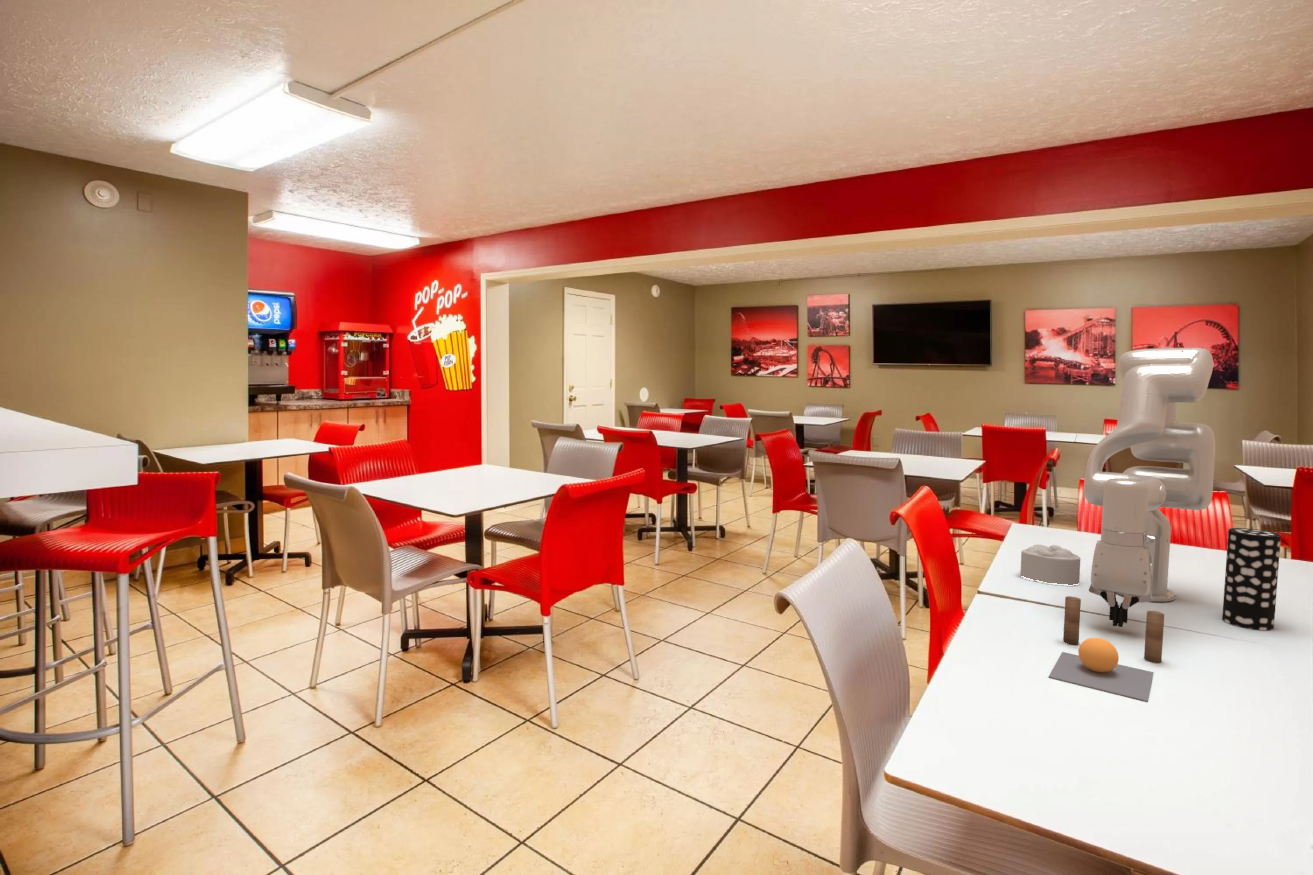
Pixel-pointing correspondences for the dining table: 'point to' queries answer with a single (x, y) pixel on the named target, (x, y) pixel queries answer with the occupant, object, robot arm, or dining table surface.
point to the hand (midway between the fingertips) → (1117, 624)
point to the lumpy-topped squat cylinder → (1050, 564)
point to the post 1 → (1072, 620)
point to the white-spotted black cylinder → (1251, 578)
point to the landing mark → (1104, 677)
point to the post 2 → (1154, 636)
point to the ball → (1098, 655)
